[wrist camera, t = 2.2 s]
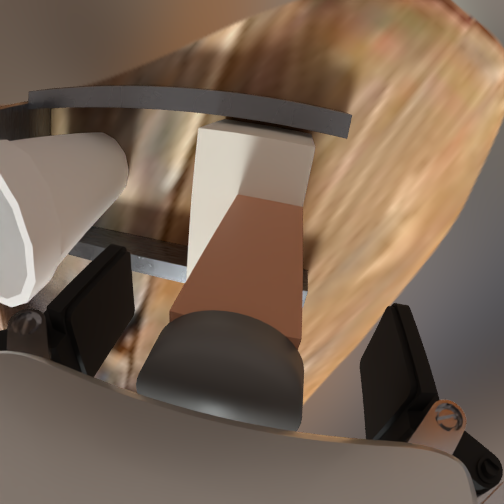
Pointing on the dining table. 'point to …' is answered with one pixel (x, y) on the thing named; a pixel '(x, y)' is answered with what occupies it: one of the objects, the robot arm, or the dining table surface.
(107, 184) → the foam cup
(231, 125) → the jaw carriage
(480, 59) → the dining table surface
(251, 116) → the grey frame
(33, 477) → the robot arm
